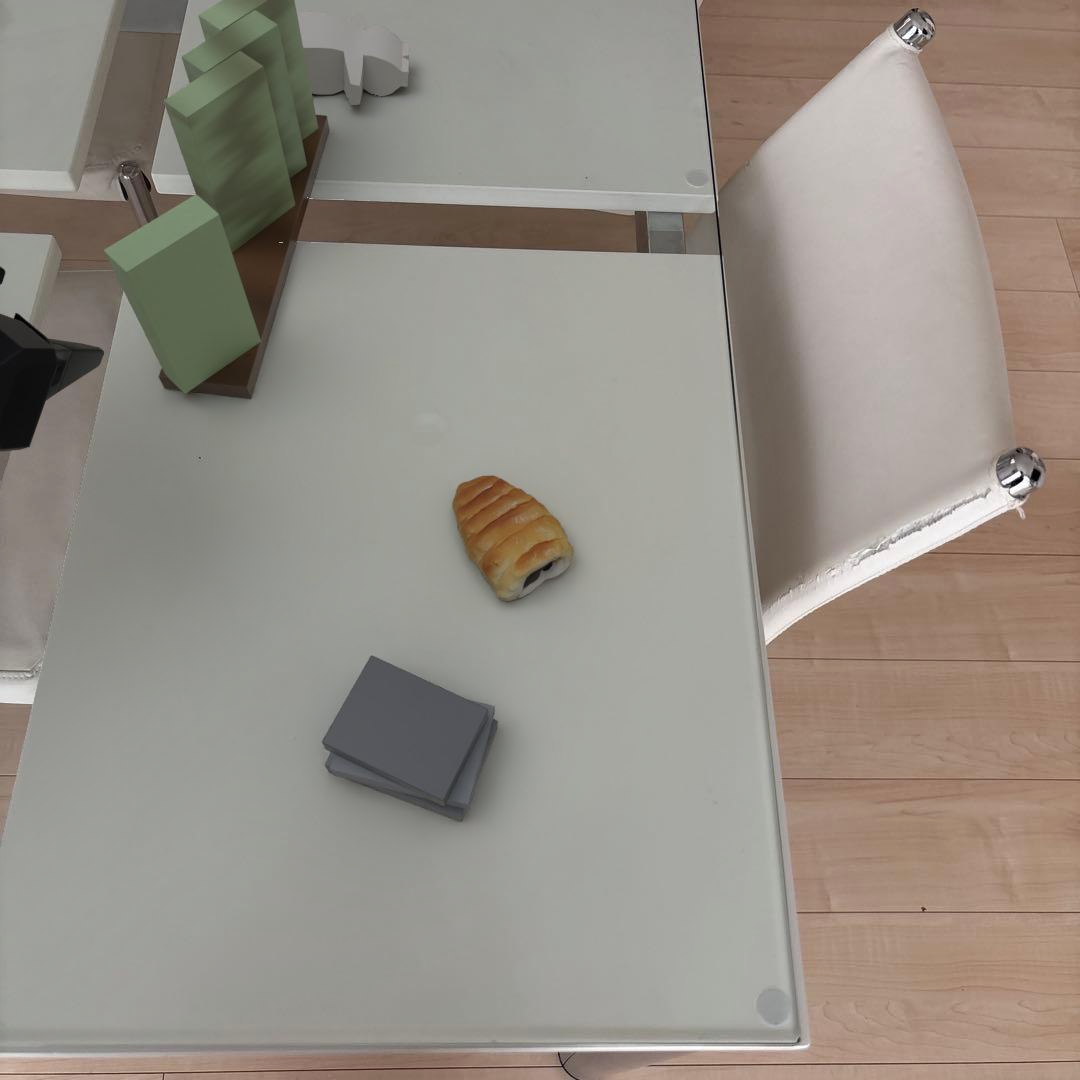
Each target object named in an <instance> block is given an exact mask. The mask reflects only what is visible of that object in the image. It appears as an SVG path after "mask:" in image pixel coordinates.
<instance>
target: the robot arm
mask: <svg viewBox="0 0 1080 1080" xmlns="http://www.w3.org/2000/svg"><path fill="white" fill-rule="evenodd" d="M5 276H6V269H5V268H3V267H2V266H1V265H0V286H1V285H2V284H3V283H4V280H5ZM104 355H105V351H104V349H102V348H101V347H99V346H95V345H91V344H88V343H87V344H86V343H81V342H75V341H68V340H62V339H54V338H48V337H47V336H46V335H45V334H43V332H41V331H40V330H39V329H38V328H36V326H34V325H33V324H32V323H30V322H29V321H28V320H27V319H26V318H25V317H23V316H22V315H21V314H20V313H18V312H15V313H14V316H13V317H10V316H8V315H6V314H3V313H0V452H13V451H21V450H24V449H28V448H30V447H31V445H32V442H33V439H34V435H35V433H36V431H37V427H38V424H39V422H40V418H41V416H42V413H43V411H44V407H45V404H46V402H47V401H48V400H50V399H51V398H52V397H54V396H55V395H56V394H58V393H60V392H61V391H63V390H64V389H66V388H68V387H69V386H71V385H72V384H74V383H76V382H77V381H78V380H80V379H82V378H83V377H84V376H86V375H88V374H89V373H91V372H92V371H93V370H96V369H97V368H99V367H100V365H101V363H102V361H103V358H104Z"/></svg>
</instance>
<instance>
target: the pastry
mask: <svg viewBox="0 0 1080 1080" xmlns="http://www.w3.org/2000/svg"><path fill="white" fill-rule="evenodd" d="M453 497H454V498H453V501H452V504H451V506H452V511H453V513H454V516H455V520H456V523H457V531H458V533H459V535H460V538H461V539H462V542H463V545H464V548H465V554H466V556H467V558H468V560H470V561H471V562H473V563H474V564H475V565H476V566H477V568H478V569H479V570H480V572H481V575H482V576H483V578H484V580H485V581H486V582H487V584H488V585H489V586H490V587H491V589H492V590H493V591H494V593H495V596H496V597H497V598H498V599H500V601H503V602H510V601H515V600H518V599H521V598H523V597H525V596H527V595H529V594H531V593H532V592H533V591H534V590H535V589H537V588H538V587H539V586H540V585H542V584H543V583H544V581H546V580H550V579H553V578H556V577H558V576H559V575H561V574H562V573H563V572H565V571H566V570H567V569H568V567H569V566H570V565H571V563H572V561H573V558H574V552H575V551H574V547H573V546H572V544H571V543H570V542H569V537H568V534H567V532H566V531H565V529H564V527H563V526H562V524H561V523H560V521H559V520H558V519H557V517H555V516H554V515H553V514H552V513H551V512H550V511H549V509H547V507H546V506H545V505H544V504H543V503H541V502H539V501H538V500H537V498H536V497H534V496H533V495H531V494H529V493H527V492H526V491H525V490H523V489H522V488H519V487H516V486H514V485H513V484H511V483H509V482H508V481H507V480H505V479H503V478H501V477H498V476H496V475H493V474H491V475H481V476H478V477H475V478H473V479H470V480H468V481H463V482H461V483H460V484H458V485H457V488H456V489H455V494H454V496H453Z"/></svg>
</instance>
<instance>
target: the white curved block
mask: <svg viewBox="0 0 1080 1080" xmlns="http://www.w3.org/2000/svg"><path fill="white" fill-rule="evenodd" d="M297 17H298V22H299V27H300V33H301V38H302V43H303V49H304V54H305V59H306V65H307V70H308V76H309V81H310V86H311V92H312V95H321V96H324V95H335V94H337V93H339V92H342V91H343V92H344V93H345V95H346V97H347V100H348V102H349V105H350V106H357V105H361V101H362V97H363V93H364V92H363V91H366V92H367V93H369V94H370V93H371V95H372V94H375V95H374V96H376V95H381V96H382V97H386V96H389V95H391V94H393V93H394V92H395V91H397V90H398V89H399V88H401V87H404V88H409V87H408V86H409V71H410V70H409V69H410V67H409V65H410V60H409V59H410V42H404V41H402V40H401V38H399V36H398V35H396V33H395V32H393V31H392V30H390V29H389V28H387V27H385V26H381V25H372V26H370V27H368V28H366V19H365V15H364V14H361V13H358V12H355V13H353V15H352V16H351V17H350V18H349V19H348V20H347V21H346V22H345V21H342V19H340V18H338V17H336V16H335V15H331V14H328V13H325V12H319V11H312V10H311V11H309V10H308V11H299V12H298V13H297ZM381 96H380V97H381Z"/></svg>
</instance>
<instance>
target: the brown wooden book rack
mask: <svg viewBox="0 0 1080 1080" xmlns="http://www.w3.org/2000/svg"><path fill="white" fill-rule="evenodd" d="M297 15H298V12H297V5H296V1H295V0H220V1H219V2H217V3H215V4H213V5H212V6H211V7H209V8H207V9H206V10H204V11H203V12H201V13H198V15H197V17H198V20H199V23H200V26H201V30H202V33H203V37H204V41H203V42H202V43H200V44H199V45H197V46H196V47H194V48H192V49H191V50H189V51H188V52H186V53H185V54H183V55H181V60H182V63H183V67H184V69H185V73H186V76H187V79H188V82H189V83H188V84H186V85H185V86H183V87H182V88H181V89H179V90H177V91H176V92H174V93H172V94H171V95H170V96H167V98H165V99H164V100H163V105H164V106H165V110H166V112H167V113H166V114H167V115H168V116H167V117H168V119H169V121H170V123H171V127H172V130H173V133H174V135H175V138H176V141H177V144H178V147H179V150H180V153H181V155H182V159H183V161H184V164H185V166H186V167H185V168H186V170H187V174H188V175H189V178H190V181H191V184H192V187H193V188H194V189H193V190H194V192H195V195H196V194H197V195H198V196H199V197H200V198H201V199H202V200H203V201H205V202H206V203H207V204H208V205H209V206H210V207H211V208H212V209H214V210H215V211H216V212H217V213H218V214H219V216H220V219H221V222H222V225H223V228H224V231H225V234H226V237H227V240H228V243H229V246H230V249H231V252H232V255H233V258H234V261H235V264H236V267H237V270H238V273H239V276H240V279H241V282H242V285H243V288H244V291H245V294H246V297H247V300H248V303H249V306H250V309H251V312H252V315H253V318H254V321H255V324H256V328H257V331H258V334H259V337H260V340H261V342H260V343H258V344H257V345H256V346H254V347H253V348H251V349H250V350H248V351H247V352H245V353H244V354H242V355H241V356H240V357H238V358H237V359H235V360H234V361H232V362H231V363H229V364H228V365H226V366H225V367H224V368H222V369H221V370H219V371H218V372H216V373H215V374H213V375H212V376H211V377H209V378H208V379H206V380H205V381H203V382H202V383H200V384H199V385H197V386H196V387H195V388H193V389H192V390H190V391H189V392H192V393H200V394H207V395H215V396H223V397H233V398H239V399H241V398H242V399H249V400H251V399H252V397H253V393H254V390H255V386H256V382H257V380H258V376H259V373H260V369H261V366H262V362H263V358H264V355H265V353H266V349H267V345H268V342H269V339H270V335H271V331H272V328H273V325H274V321H275V318H276V314H277V311H278V307H279V303H280V300H281V297H282V293H283V289H284V286H285V283H286V280H287V276H288V273H289V269H290V266H291V262H292V259H293V256H294V253H295V250H296V249H295V248H296V246H297V242H298V240H299V239H298V238H299V235H300V231H301V228H302V225H303V222H304V219H305V218H304V217H305V214H306V211H307V208H308V204H309V201H310V198H311V194H312V190H313V187H314V185H315V180H316V177H315V176H317V174H316V172H317V173H318V170H317V168H318V169H319V167H320V163H321V160H320V159H322V156H323V153H324V150H323V149H325V146H324V145H326V143H327V138H328V136H329V132H330V126H329V120H328V116H327V115H325V114H316V109H315V103H314V98H313V94H312V92H311V86H310V81H309V76H308V70H307V65H306V59H305V54H304V49H303V43H302V38H301V33H300V27H299V22H298V17H297ZM328 131H329V132H328ZM327 135H328V136H327ZM325 142H326V143H325ZM322 152H323V153H322ZM321 155H322V156H321ZM318 166H319V167H318ZM314 179H315V180H314ZM307 197H310V198H307ZM279 242H283V243H279ZM295 243H296V244H295ZM158 379H159V381H160V382H161V385H162V387H163V388H164V389H165V390H166V389H167V390H173V391H181V390H180V389H179V388H178V387H177V386H176V385H175V384H174V383H173V382H172V381H171V380H170V379H169V378H168V377H167V376H166V375H165V373H164V371H163V369H162V367H160V371H159V374H158Z"/></svg>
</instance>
